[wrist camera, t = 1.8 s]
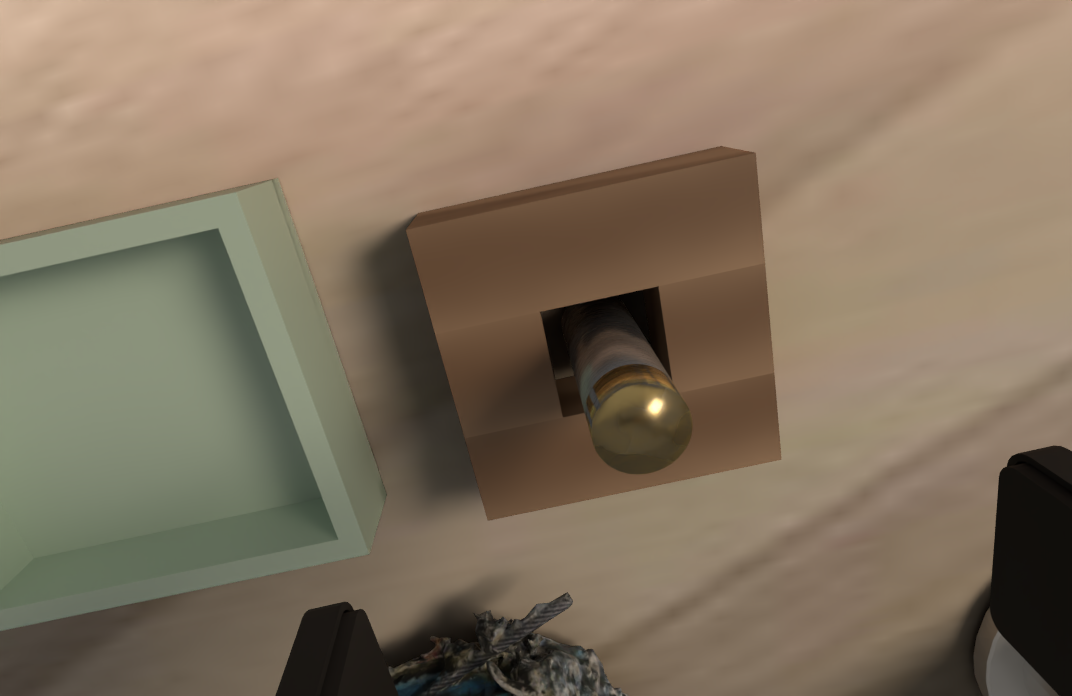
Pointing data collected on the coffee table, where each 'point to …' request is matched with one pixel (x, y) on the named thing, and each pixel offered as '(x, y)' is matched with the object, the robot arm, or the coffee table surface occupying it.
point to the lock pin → (624, 389)
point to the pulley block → (506, 662)
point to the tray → (171, 409)
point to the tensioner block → (594, 273)
